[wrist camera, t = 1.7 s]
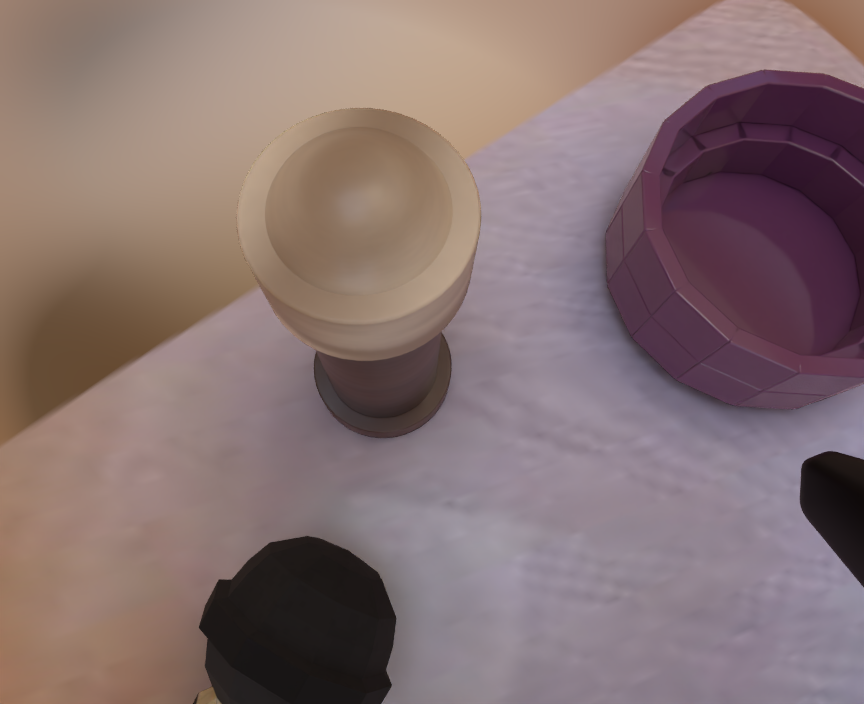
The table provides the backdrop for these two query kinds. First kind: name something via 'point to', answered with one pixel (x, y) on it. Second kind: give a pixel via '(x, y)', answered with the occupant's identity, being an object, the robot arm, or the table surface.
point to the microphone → (299, 629)
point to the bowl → (749, 241)
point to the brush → (365, 257)
